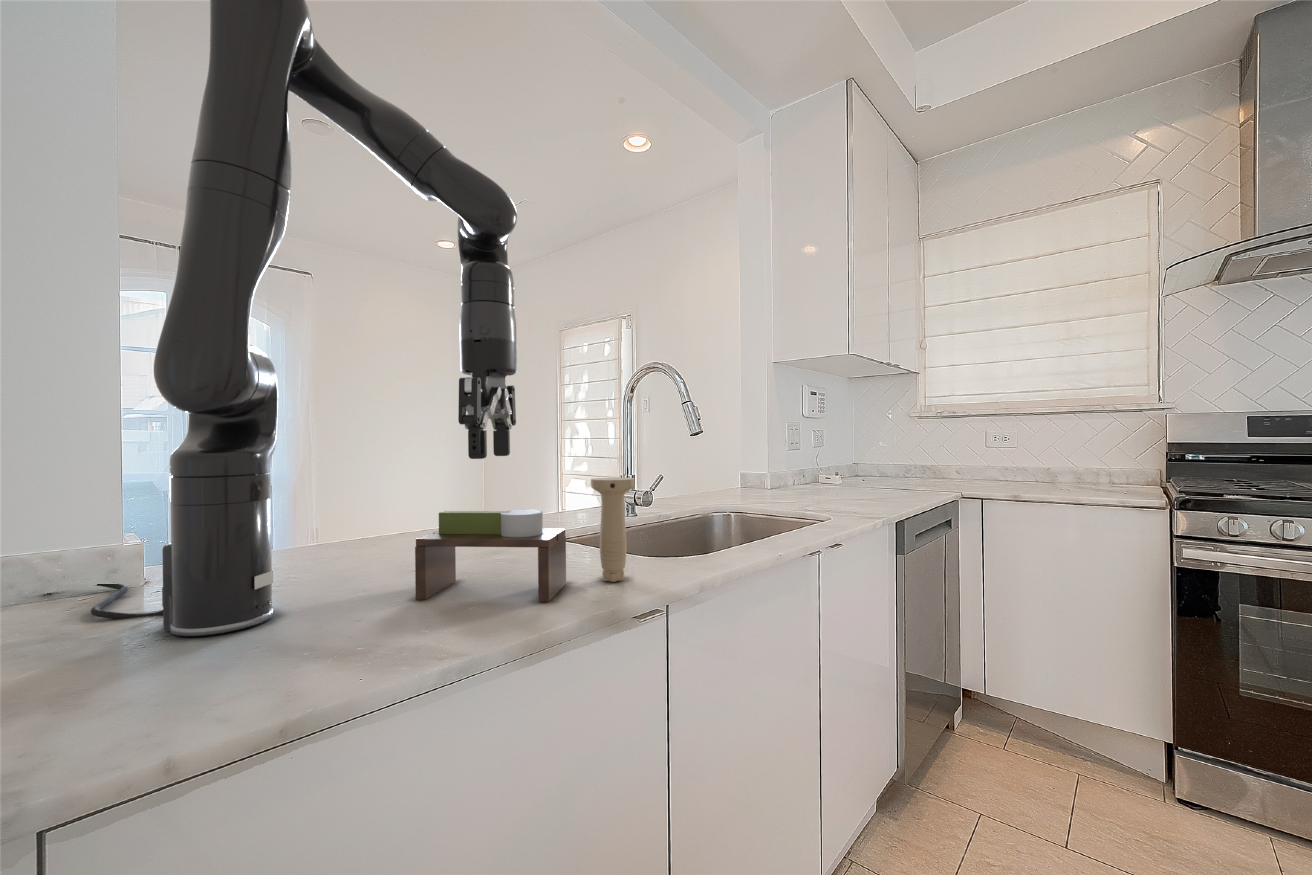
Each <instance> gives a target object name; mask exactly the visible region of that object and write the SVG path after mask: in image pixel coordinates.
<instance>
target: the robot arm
mask: <svg viewBox="0 0 1312 875" xmlns="http://www.w3.org/2000/svg"><path fill="white" fill-rule="evenodd" d="M209 17H210V18H209V58H208V59H209V60H208V69H207V77H206V81H205V87H204V90H203V91H204V92H203V96H202V101H201V106H200V110H199V111H200V112H199V117H198V123H197V129H196V135H195V142H194V148H193V152H192V157H191V161H190V169H189V174H188V175H189V176H188V182H187V189H186V199H185V200H186V202H185V212H184V218H183V219H184V220H183V226H182V232H181V237H180V245H179V250H178V252H179V253H178V260H177V269H176V274H175V275H176V276H175V281H174V286H173V290H172V294H171V297H170V301H169V304H168V308H167V312H166V315H165V318H164V322H163V325H162V328H161V332H160V336H159V339H158V343H157V346H156V351H155V354H154V360H153V378H154V383H155V385H156V388H157V390H158V392H159V394H160V395H161V396H162V398H163V399H164V400H165V401H166V402H167V403H168V404H170V405H171V406H172V407H174V408H175V409H178V410H179V411H182V412H185V413H188V425H187V433H186V436H185V438H184V440H183V441H182V443H181V444H180V445H179V446H178V447H176V448H175V449H174V450H173V451H172V453H171V454H170V457H169V499H170V500H169V501H170V502H169V503H170V504H169V505H170V506H169V508H170V543H166V544H164V545H163V547H162V554H161V555H162V587H161V593H162V594H161V603H162V604H161V605H162V606H161V607H162V610H158V611H154V612H147V613H146V612H145V613H129V612H118V611H110V610H103V609H104V608H106V607H107V606H109V605H110V604H112V603H113V602H114V601H115V600H116V599H118V598H119V597H121V596H123V595H125V594H126V593H127V592H128V591H129V586H127V584H126V585H125V584H122V583H118V584H97V585H95V586H96V587H102V588H103V587H104V588H109V589H113V590H117V591H115V592H113V593H111V594H110V595H108V596H107V597H106V598H105V599H103V600H102V601H100V602H99V603H97V604H95V605H94V606H92V608H91V609H90V614H91V615H92V616H94V617H98V618H103V619H110V620H126V619H137V618H145V617H157V616H162V625H163V626H162V630H163V631H168V632H170V633H171V634H172V635H176V636H178V637H179V636H181V637H202V636H203V637H204V636H212V635H220V634H225V633H230V632H235V631H240V630H243V629H247V628H250V627H254V626H256V625H259V624H262V623H263V622H266V621H268V620H269V619H271V618H272V617H273V615H274V606H273V586H272V585H273V584H274V570H273V565H272V564H273V561H272V560H273V559H272V558H273V556H272V551H273V550H272V548H273V547H272V490H271V489H272V486H271V485H272V482H271V481H272V480H271V479H272V478H271V477H272V476H271V474H272V473H271V464H272V458H273V455H274V452H275V449H276V447H277V442H278V416H279V383H278V376H277V371H276V369H275V366H274V363H273V362H272V361H271V359H270V358H269V357H268V355H267V354H266V353H265V352H263V351H262V350H261V349H259V348H258V347H256V346H254V345H252V344H250V325H251V316H252V306H253V300H254V298H255V293H256V290H257V288H258V286H259V283H260V281H261V279H262V277H263V276H264V274H265V272H266V270H267V269H268V267H269V266H270V264H271V262H272V261H273V259H274V257H275V255H276V254H277V252H278V251H279V248H280V246H281V244H282V242H283V239H284V236H285V231H286V227H287V221H288V214H289V206H290V200H291V191H292V151H291V150H292V149H291V148H292V146H291V132H290V122H289V120H290V119H289V92H290V93H292V94H293V95H294V96H296V97H297V98H299V99H301V100H302V101H303V102H305V104H308V105H309V106H310V107H312V108H313V109H314V110H316V111H317V112H318V113H320V114H322V115H323V116H324V117H326V118H327V119H328V120H330V121H331V122H332V123H333V124H335V125H336V126H338V127H339V128H340V129H341V130H343V131H344V132H345V133H346V134H348V135H349V136H351V137H352V138H353V139H354V140H355V141H357V142H358V143H359V144H360V145H362V147H364V148H365V149H366V150H367V151H368V152H369V153H370V154H372V155H373V156H374V157H375V158H376V159H378V160H379V161H380V162H381V163H382V164H384V166H385V167H386V168H388V169H389V170H390V171H391V172H392V173H394V175H396V177H397V178H399V179H400V180H401V181H402V182H403V183H405V184H406V185H407V186H408V187H409V188H411V189H412V190H413V191H414V192H415V193H416V194H417V195H418V196H420V197H421V198H423V199H425V200H426V201H428V202H437V201H438V202H440V203H442V205H444V206H445V207H447V208H448V209H449V210H451V211H452V212H454V213H455V214H456V215H457V216H458V217H457V244H458V246H457V247H458V254H459V261H460V266H461V277H460V315H459V370H460V372H461V373H462V375H463V374H464V375H467V377H459V379H458V416H457V417H458V423H459V425H464V428H465V430H467V448H468V450H467V452H468V454H467V456H468V458H469V459H471V460H484V459H486V458H487V456H488V444H487V443H488V442H487V441H488V440H487V439H488V437H487V435H488V434H487V426H488V422H489V420H490V422H491V426H492V429H493V430H492V438H493V440H492V443H493V444H492V446H493V455H494V456H495V457H508V456H510V454H511V436H510V435H511V433H510V432H511V430H512V428H513V426H516V425H517V413H516V412H517V411H516V410H517V409H516V387H515V385H507V383H506V377H507V376H513V375H515V374H517V373H518V347H517V346H518V345H517V344H518V343H517V334H518V333H517V319H516V313H515V282H514V276H513V272H512V269H511V268H510V267H509V262H508V261H509V260H508V259H509V258H508V256H509V255H508V242H509V238H510V236H511V234H512V233H513V232H514V230H515V228H516V226H517V222H518V212H517V208H516V205H515V203H514V202H513V200H512V198H511V197H510V196H509V194H508V193H507V192H506V191H505V189H503V188H502V186H500V185H499V184H498V183H497V182H495V180H493V179H491V178H490V177H488V176H487V175H486V174H484V173H482V172H481V171H479V170H478V169H476V168H474V167H473V166H472V165H470V164H468V163H467V162H465V161H464V160H461V159H460V158H458V157H456V156H455V155H454V154H453V153H452V152H451V151H450V150H449V149H448V148H447V147H446V146H445V145H444V144H443V143H442V142H441V141H439V139H437V138H436V137H435V136H434V135H433V133H431V132H430V131H429V130H428V129H427V128H426V127H424V125H422V124H421V123H420V122H419V121H418V120H417V119H416V118H414V117H412V116H411V115H410V114H409V113H408V112H406V111H404V110H403V109H401V108H400V107H398V106H397V105H395V104H393V103H391V102H390V101H388V100H386V99H384V98H383V97H381V96H379V95H377V94H375V93H374V92H372V91H370V90H369V89H368V88H365V87H364V86H363V85H362V84H360V83H358V82H357V81H356V80H355V79H354V78H352V77H351V76H350V75H349V74H348V73H347V72H346V71H345V70H344V69H342V68H341V67H340V66H339V65H338V64H337V62H335V61H334V59H333V58H332V57H331V56H330V54H329V53H328V52H327V51H326V50H325V49H324V48H323V47H322V45H321V44H320V43H319V42H318V40H317V39H316V38H315V34H314V28H313V25H312V20H311V15H310V10H309V6H308V3H307V1H306V0H209Z"/></svg>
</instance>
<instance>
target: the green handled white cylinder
mask: <svg viewBox="0 0 1312 875" xmlns="http://www.w3.org/2000/svg"><path fill="white" fill-rule="evenodd" d="M543 516H544V514H543V510H541V509H527V508H526V509H510V510H443V511H440V512H438V531H439V534H465V535H502V536H504V537H531V536H537V535H540V534H542V533H543V529H544V528H543V526H544V525H543V523H544V522H543V520H544V518H543Z"/></svg>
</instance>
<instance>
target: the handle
mask: <svg viewBox="0 0 1312 875" xmlns="http://www.w3.org/2000/svg"><path fill="white" fill-rule="evenodd" d="M634 487H635V478H634V477H594V478H590V488H592V489H593V490H594V491H596V492H598V493H599V494H600V499H601V500H600V501H601V505H600V506H601V507H600V527H599V558H600V559H599V560H600V565H601V566H600V567H601V569H602V571H601V572H602V573H601V575H602V579H603V581H604V582H612V583H616V582H622V581H623V580H624V579H625V568H626V564H627V563H626V562H627V552H628V551H627V550H628V548H627V544H628V543H627V528H626V513H625V511H626V510H625V494H626V493H628V492H629V491H630V490H632V489H633V488H634Z"/></svg>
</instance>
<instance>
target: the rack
mask: <svg viewBox="0 0 1312 875" xmlns="http://www.w3.org/2000/svg"><path fill="white" fill-rule="evenodd" d="M461 547H462V548H537V582H538V583H537V585H538V586H537V588H538V590H537V592H538V603H549V602H550V601H551V600H552V599H553V598H554V597H555V596H556V595H558V593H559V592H560V591H561V590H562V589H563V588H564V587H565V585H567V536H566V528H543V533H542V534H540V535H537V536H531V537H504V536H502V535H465V534H439V530H437V531H435V532H434V531H433V532H432V533H428V534H426V535H423V536H420V537H417V538H415V546H414V562H415V563H414V564H415V565H414V568H415V570H414V572H415V575H414V576H415V578H414V580H415V584H414V585H415V600H417V601H419V600H420V601H421V600H422V601H426V600H428V599H429V598H431V597H433V596H435V595H436V594H438V593H440V592H441V591H443V590H444V589H446V588H448V587H449V586H450V587H451V585H453V584H455V583H456V582H457V572H456V570H457V568H456V566H457V564H456V562H457V561H456V560H457V558H456V548H461Z"/></svg>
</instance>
